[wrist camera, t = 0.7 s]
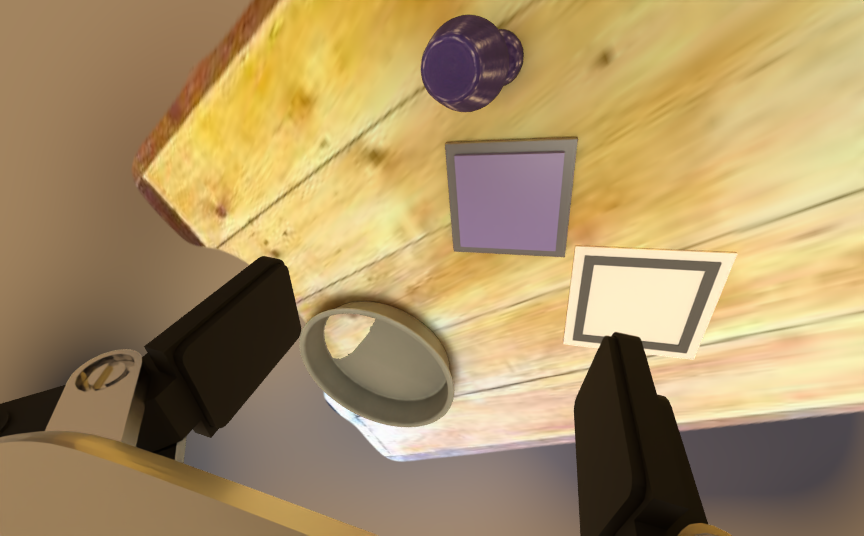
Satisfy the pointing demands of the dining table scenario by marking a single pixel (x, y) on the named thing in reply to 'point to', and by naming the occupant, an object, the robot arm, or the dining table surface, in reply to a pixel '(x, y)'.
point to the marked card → (645, 296)
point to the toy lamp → (470, 62)
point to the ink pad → (511, 195)
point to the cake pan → (383, 367)
